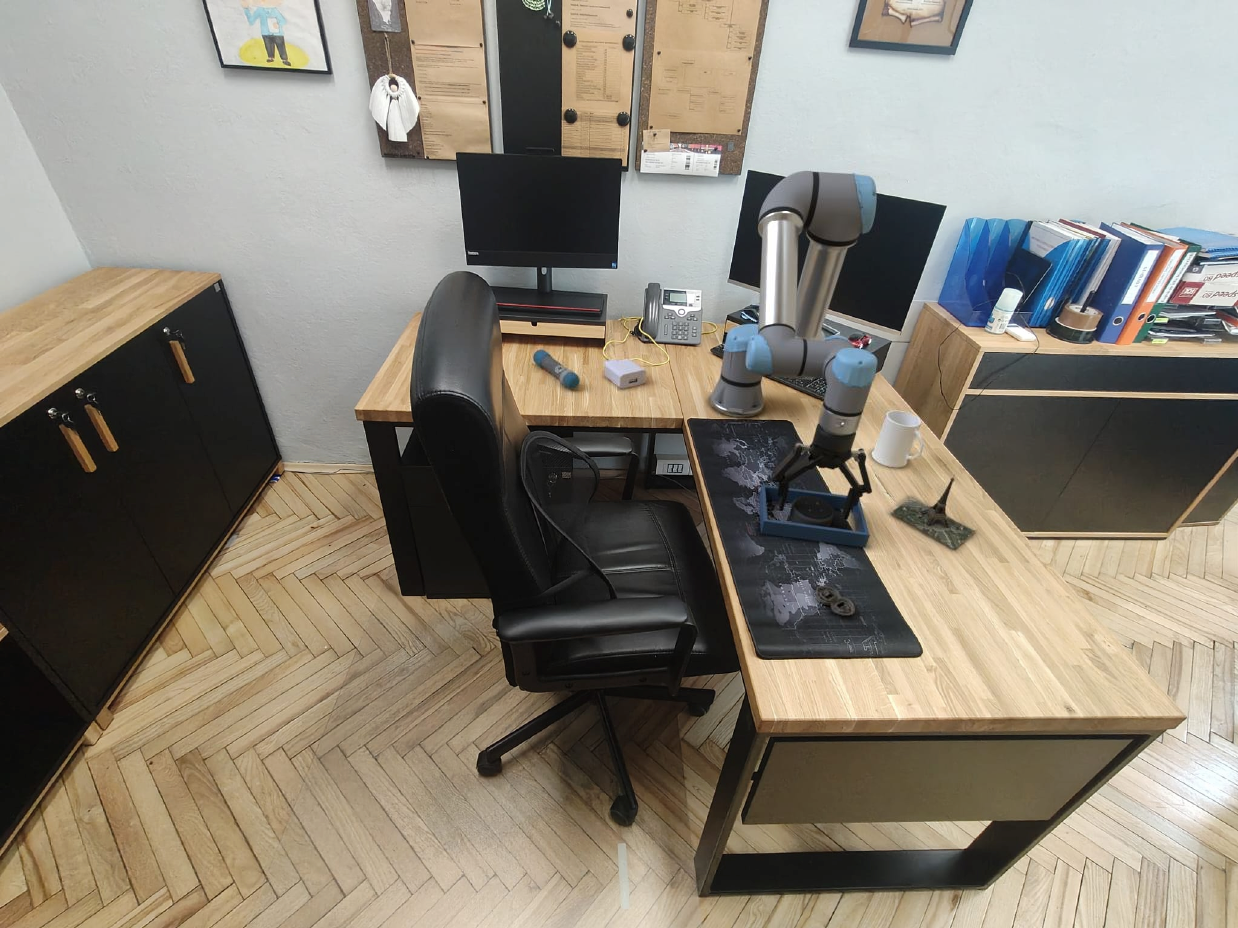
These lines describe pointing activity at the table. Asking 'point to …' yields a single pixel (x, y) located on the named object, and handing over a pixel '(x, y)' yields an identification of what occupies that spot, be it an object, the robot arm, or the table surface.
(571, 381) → the grey and blue rod
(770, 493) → the rectangular frame
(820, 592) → the corroded twin loop
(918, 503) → the eiffel tower figurine
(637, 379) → the charger
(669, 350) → the table surface
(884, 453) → the mug
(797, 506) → the smart speaker
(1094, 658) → the table surface
